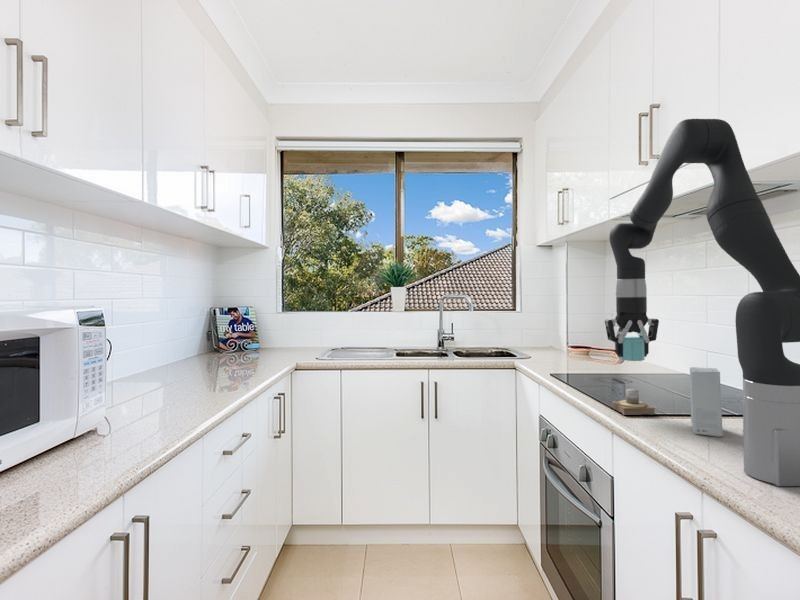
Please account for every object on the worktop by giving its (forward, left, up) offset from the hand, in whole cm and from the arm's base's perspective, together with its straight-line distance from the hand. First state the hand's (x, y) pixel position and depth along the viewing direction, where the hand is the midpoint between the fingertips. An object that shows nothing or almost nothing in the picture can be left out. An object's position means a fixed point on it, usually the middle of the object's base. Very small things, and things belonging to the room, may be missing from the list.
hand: (631, 356), depth 128 cm
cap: (0, 0, -1) cm, 1 cm away
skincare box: (-18, -9, -16) cm, 26 cm away
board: (0, 0, -16) cm, 16 cm away
